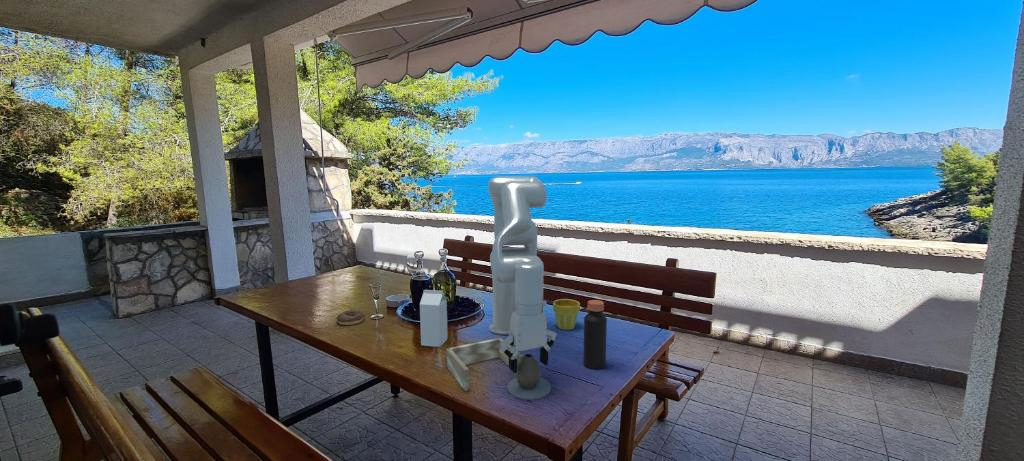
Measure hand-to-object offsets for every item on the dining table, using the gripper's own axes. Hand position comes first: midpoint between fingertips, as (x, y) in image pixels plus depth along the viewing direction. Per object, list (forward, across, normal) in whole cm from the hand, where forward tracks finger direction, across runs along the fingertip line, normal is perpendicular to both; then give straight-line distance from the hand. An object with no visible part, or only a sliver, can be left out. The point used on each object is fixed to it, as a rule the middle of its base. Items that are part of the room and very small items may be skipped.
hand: (528, 367), depth 112 cm
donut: (+7, +38, -79) cm, 88 cm away
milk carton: (+7, +14, -42) cm, 45 cm away
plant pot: (+7, -36, -33) cm, 49 cm away
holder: (+6, +7, -14) cm, 17 cm away
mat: (+6, 0, +1) cm, 6 cm away
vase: (+5, 0, 0) cm, 5 cm away
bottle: (+6, -25, -2) cm, 26 cm away
